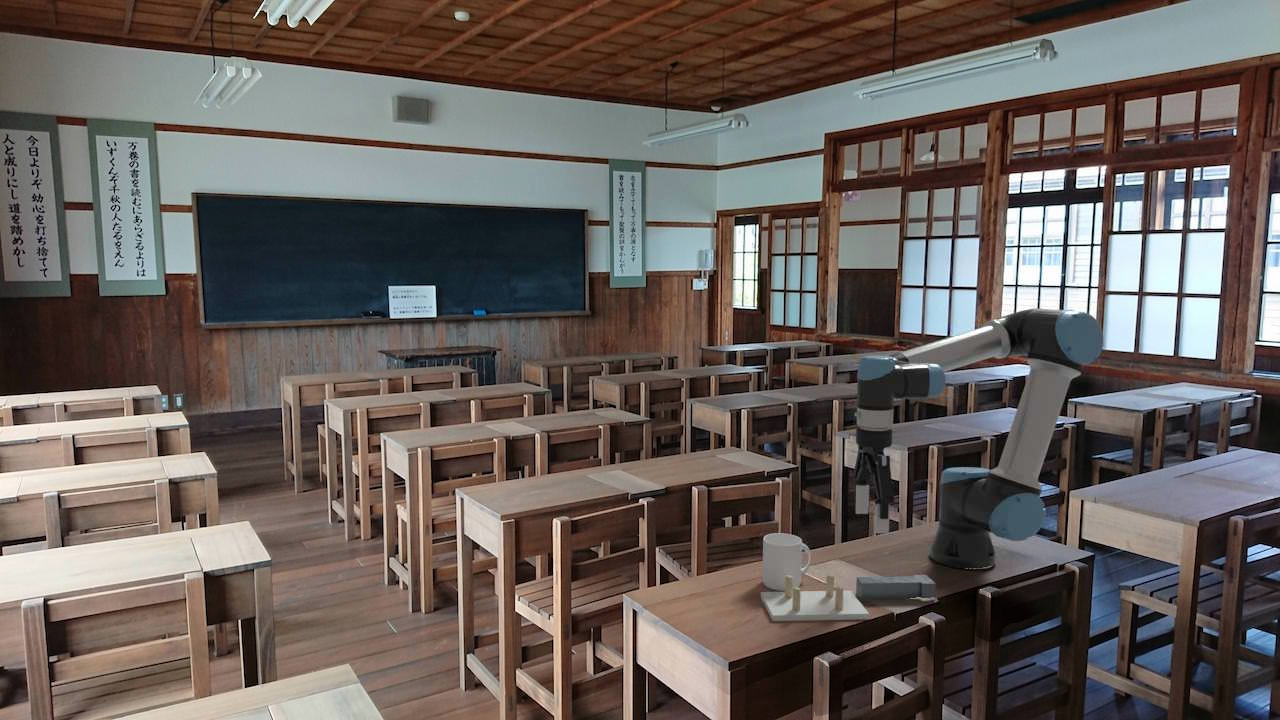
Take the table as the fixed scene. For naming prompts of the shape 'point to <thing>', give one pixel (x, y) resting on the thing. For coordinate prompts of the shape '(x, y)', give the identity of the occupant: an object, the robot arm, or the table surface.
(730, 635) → the table surface
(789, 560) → the mug
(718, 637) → the table surface
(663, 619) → the table surface
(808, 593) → the rack
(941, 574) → the table surface
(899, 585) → the grey bar
